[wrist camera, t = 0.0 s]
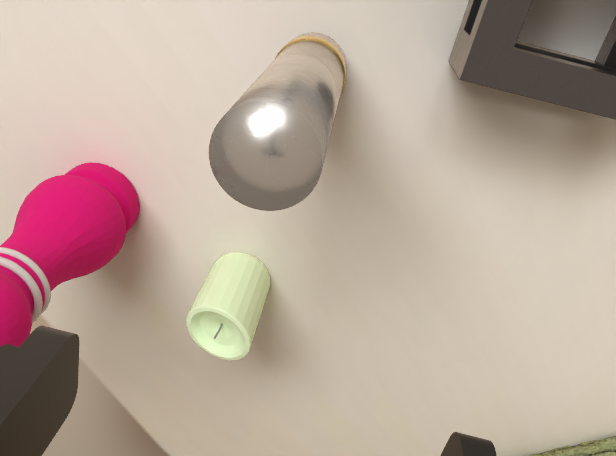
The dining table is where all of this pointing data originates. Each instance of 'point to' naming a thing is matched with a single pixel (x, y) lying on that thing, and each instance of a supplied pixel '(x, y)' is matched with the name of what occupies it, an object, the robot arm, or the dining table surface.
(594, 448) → the washcloth
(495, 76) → the collar stand
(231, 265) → the candle
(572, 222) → the dining table surface
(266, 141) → the metal can
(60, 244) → the pepper mill
